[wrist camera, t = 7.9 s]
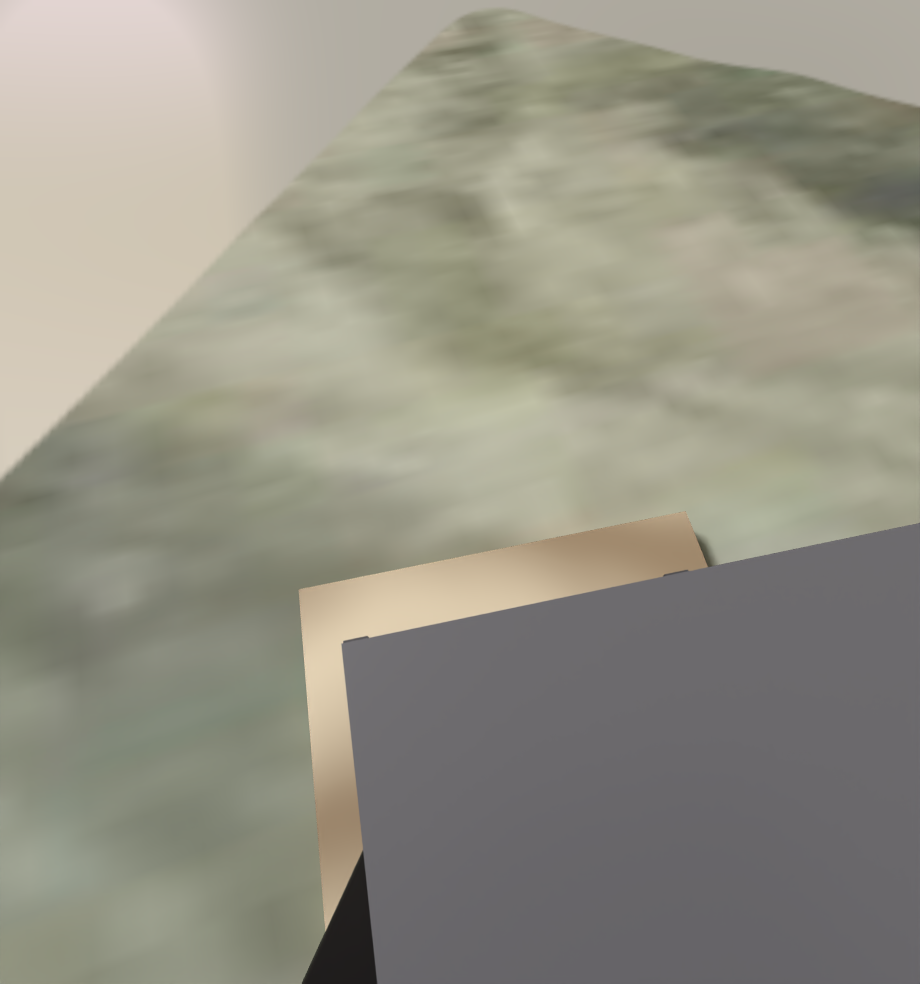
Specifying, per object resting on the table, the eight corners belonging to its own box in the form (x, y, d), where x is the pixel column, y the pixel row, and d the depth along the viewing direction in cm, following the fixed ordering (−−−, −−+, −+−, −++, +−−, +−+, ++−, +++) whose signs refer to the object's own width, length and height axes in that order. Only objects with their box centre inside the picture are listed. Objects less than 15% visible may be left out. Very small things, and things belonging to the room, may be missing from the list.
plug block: (687, 905, 13) (1853, 1731, 2) (488, 952, 12) (505, 2204, 2) (622, 695, 15) (1012, 504, 4) (450, 733, 14) (340, 643, 4)
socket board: (900, 1100, 13) (1040, 1215, 9) (362, 1239, 12) (318, 1411, 9) (675, 523, 18) (715, 474, 15) (308, 598, 18) (270, 563, 15)
